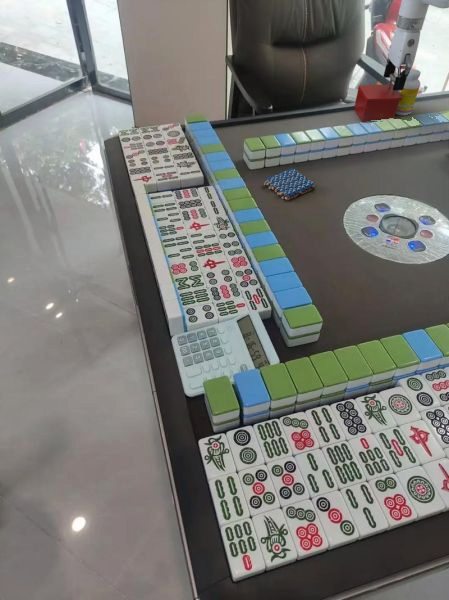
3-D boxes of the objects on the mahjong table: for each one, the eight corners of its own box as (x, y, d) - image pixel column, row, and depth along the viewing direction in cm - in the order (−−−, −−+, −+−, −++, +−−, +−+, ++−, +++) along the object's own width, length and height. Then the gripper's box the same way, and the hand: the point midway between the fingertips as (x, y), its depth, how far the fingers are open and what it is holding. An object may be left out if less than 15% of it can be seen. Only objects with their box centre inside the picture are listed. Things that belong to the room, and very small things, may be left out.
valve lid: (391, 86, 144) (396, 69, 140) (401, 100, 137) (406, 82, 133) (358, 87, 143) (362, 70, 139) (366, 101, 137) (371, 83, 132)
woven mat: (291, 172, 122) (292, 165, 121) (316, 189, 116) (317, 183, 115) (262, 184, 118) (262, 177, 117) (286, 203, 112) (287, 196, 111)
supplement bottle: (415, 114, 145) (428, 74, 135) (397, 117, 144) (409, 76, 134) (404, 106, 149) (416, 66, 139) (387, 108, 148) (398, 68, 138)
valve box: (383, 106, 149) (389, 86, 144) (393, 121, 142) (399, 100, 137) (354, 107, 148) (358, 87, 143) (362, 122, 142) (366, 101, 137)
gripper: (433, 32, 120) (413, 94, 132) (412, 13, 131) (395, 72, 144) (407, 32, 119) (389, 95, 132) (388, 13, 131) (373, 73, 144)
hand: (392, 83), depth 138 cm, fingers open, 9 cm apart
